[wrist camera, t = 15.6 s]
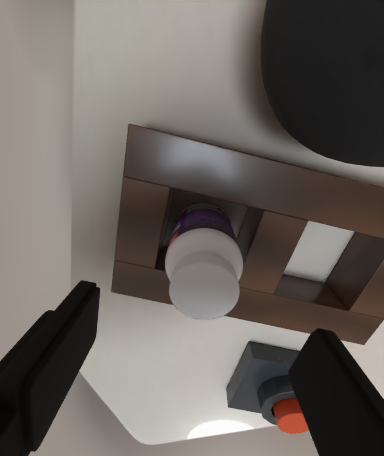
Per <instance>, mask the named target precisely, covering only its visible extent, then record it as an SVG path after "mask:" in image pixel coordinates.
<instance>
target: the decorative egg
mask: <svg viewBox="0 0 384 456" xmlns="http://www.w3.org/2000/svg"><path fill="white" fill-rule="evenodd" d="M261 70H262V78H263V83H264V88H265V91H266V95H267V98H268V101H269V103H270V106H271V108H272V110H273V112H274V114H275V116H276V117H277V119H278V120H279V122H280V123H281V125H282V126H283V127H284V128H285V130H286V131H287V132H288V133H289V134H290V135H291V136H292V137H293V138H294V139H296V140H297V141H298V142H299V143H301V144H302V145H304V146H305V147H307V148H309V149H310V150H312V151H314V152H315V153H318V154H320V155H322V156H325V157H327V158H331V159H334V160H337V161H341V162H345V163H349V164H356V165H363V166H374V167H384V0H267V3H266V8H265V14H264V20H263V27H262V35H261Z"/></svg>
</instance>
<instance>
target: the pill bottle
mask: <svg viewBox="0 0 384 456" xmlns="http://www.w3.org/2000/svg"><path fill="white" fill-rule="evenodd" d="M165 269H166V273H167V276H168V278H169V280H170V286H169V295H170V299H171V301H172V303H173V305H174V306H175V307H176V308H177V309H178V310H179V311H180V312H181V313H183V314H184V315H186V316H188V317H191V318H194V319H200V320H210V319H215V318H219V317H221V316H223V315H225V314H227V313H228V312H230V311H231V310H232V309H233V307H234V306H235V305H236V303H237V301H238V298H239V284H238V281H239V279H240V277H241V274H242V270H243V259H242V255H241V251H240V248H239V245H238V243H237V240H236V237H235V234H234V232H233V229H232V226H231V223H230V220H229V218H228V216H227V215H226V213H225V212H224V211H223V210H222V209H221V208H219V207H218V206H216V205H214V204H210V203H196V204H193V205H191V206H189V207H187V208H186V209H184V210H183V211H182V212H181V214H180V215H179V217H178V219H177V221H176V224H175V227H174V230H173V234H172V237H171V240H170V244H169V247H168V250H167V254H166V258H165Z"/></svg>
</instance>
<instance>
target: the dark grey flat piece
mask: <svg viewBox="0 0 384 456" xmlns="http://www.w3.org/2000/svg"><path fill="white" fill-rule="evenodd" d="M298 354H299V352H298V351H293V350H288V349H283V348H279V347H274V346H269V345H264V344H259V343H254V342H249V343H248V345H247V347H246V349H245V351H244V354H243V356H242V358H241V360H240V362H239V364H238V366H237V368H236V370H235V372H234V375H233V377H232V379H231V381H230V383H229V385H228V387H227V389H226V391H227V401H228V407H229V408H235V409H240V410H245V411H251V412H256V413H262V416H263V418H264V419H266V420H267V421H269V422H270V423H272V424H274V425H277V422H276V418H275V414H274V411H273V405H274V404H275V403H276V402H278V401H280V400H282V399H288V398H296V396H295V393H294V390H293V388H292V385H291V383H290V380H289V376H288V372H289V369H290V367H291V366H292V364H293V362H294V361H295V359H296V357H297V356H298Z"/></svg>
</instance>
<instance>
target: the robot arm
mask: <svg viewBox="0 0 384 456" xmlns="http://www.w3.org/2000/svg"><path fill="white" fill-rule="evenodd" d="M99 298H100V288H99V287H96V283H93V282H88V281H83V280H82V281H80V282H79V283H78V284H77V285H76V286H75V288H74V289H73V290H72V291H71V292H70V293H69V295H68V296H67V297H66V298H65V299H64V300H63V302H62V303H61V304H60V305H59V306H58V307H57V309H56V310H55V311H52V310H48V311H47V312H45V313H44V314H43V315H42V316H41V317H40V318H39V319H38V320H37V321H36V322H35V323H34V325H33V326H32V327H31V328H30V329H29V330H28V331H27V332H26V333H25V335H24V336H23V337H22V338H21V339H20V340H19V341H18V342H17V343H16V345H15V346H14V347H13V348H12V349H11V350H10V351H9V352H8V353H7V354H6V355H5V357H4V358H3V359H2V360H1V361H0V456H28V455H29V454H30V452H31V451H36V450H37V449H38V448H39V446H40V445H41V443H42V441H43V439H44V437H45V435H46V433H47V432H48V430H49V428H50V426H51V424H52V422H53V420H54V418H55V416H56V414H57V412H58V410H59V408H60V406H61V404H62V403H63V401H64V399H65V397H66V395H67V393H68V391H69V389H70V387H71V385H72V384H73V381H74V380H75V378H76V376H77V374H78V372H79V370H80V368H81V366H82V364H83V362H84V360H85V359H86V357H87V355H88V353H89V351H90V349H91V347H92V345H93V343H94V341H95V338H96V333H97V322H98V310H99ZM288 376H289V380H290V383H291V385H292V388H293V390H294V393H295V396H296V398H297V401H298V403H299V406H300V408H301V411H302V413H303V416H304V419H305V421H306V424H307V426H308V429H309V431H310V434H311V436H312V439H313V441H314V444H315V447H316V449H317V452H318V454H319V456H384V399H383V398H382V396H381V395H380V394H379V392H378V391H377V390H376V388H375V387H374V385H373V384H372V383H371V381H370V380H369V379H368V377H367V376H366V375H365V373H364V372H363V370H362V369H361V368H360V366H359V365H358V364H357V362H356V361H355V359H354V358H353V357H352V355H351V354H350V353H349V351H348V350H347V349H346V347H345V346H344V344H343V343H342V342H341V340H340V339H339V338H338V336H337V335H336V334H335V333H334V332H333V331H331V330H326V329H321V328H317V329H316V330H315V331H313V332H312V333H311V334H310V336H309V338H308V339H307V341H306V343H305V344H304V346H303V348H302V349H301V351H300V352H299V354H298V356H297V357H296V359H295V361H294V362H293V364H292V366H291V367H290V369H289V372H288Z"/></svg>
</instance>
